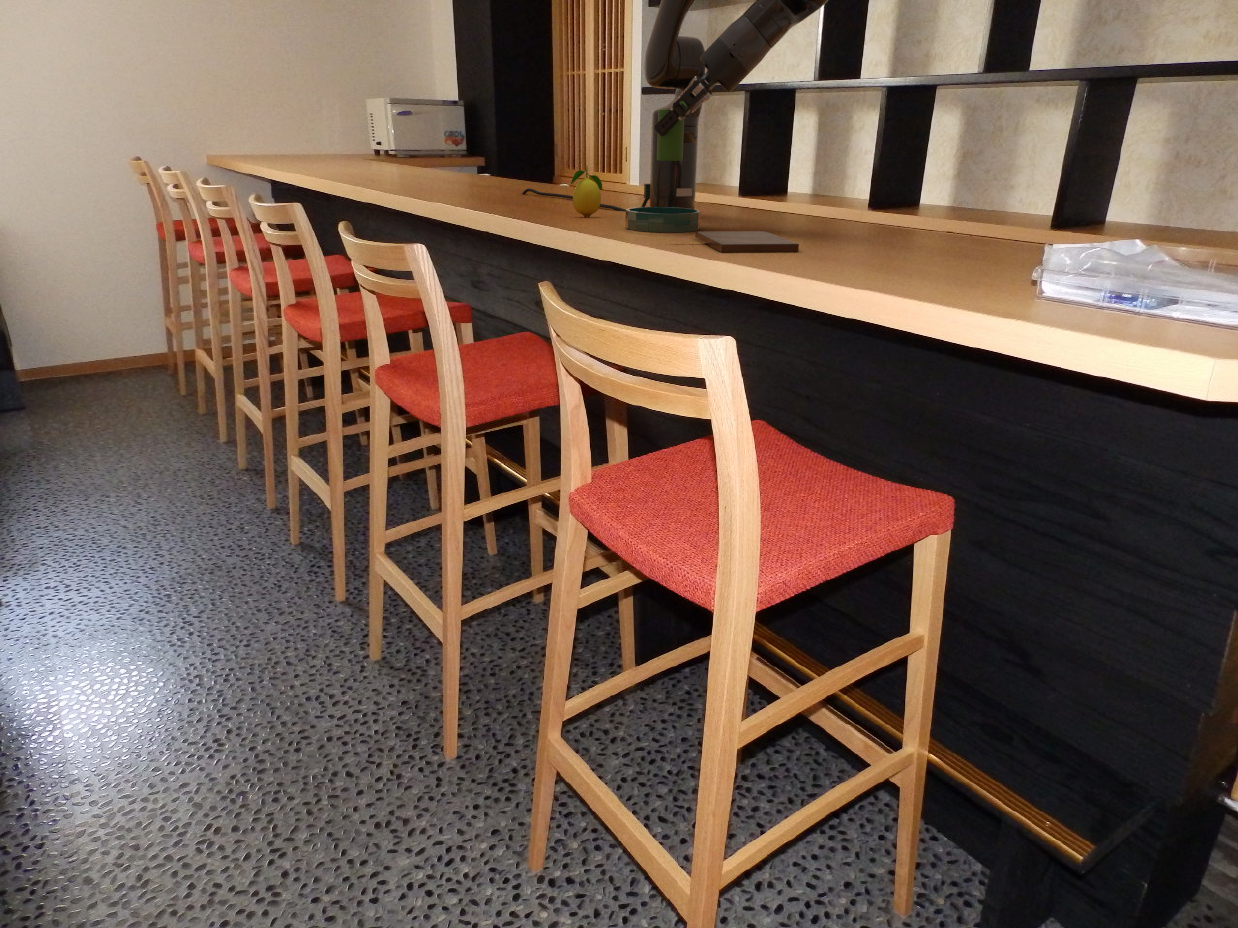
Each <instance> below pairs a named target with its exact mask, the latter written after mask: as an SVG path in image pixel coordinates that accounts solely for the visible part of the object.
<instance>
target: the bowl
mask: <svg viewBox="0 0 1238 928" xmlns="http://www.w3.org/2000/svg"><path fill="white" fill-rule="evenodd" d="M701 212H702V211H701V210H699V209H697V208H695V209H690V208H678V207H650V206H645V207H641V206H638V207H629V208H626V211H625V223H624V224H625V229H627V230H630V231H636V232H642V233H643V232H644V233H661V234H662V233H664V234H665V233H670V234H671V233H676V234H677V233H690V232H698V231H699V230H700V229H701Z"/></svg>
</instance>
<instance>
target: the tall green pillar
mask: <svg viewBox="0 0 1238 928" xmlns="http://www.w3.org/2000/svg"><path fill="white" fill-rule="evenodd" d="M669 111H670V110H658V122H659V121H660V120H661V119H662V118H663V117H664V116H665V115H666V114H667V113H668V112H669ZM670 112H671V111H670ZM677 120H678V119H677ZM683 136H684V118H683V119H682V120H680V121H679V120H678V122H677V123H676V124H675V125H674V126H673V127H672V128H671V129H670V130H669V132H668V133H667V134H666V135H665V136H660V134H659V133H658V139H657V160H660V161H682V160H683Z"/></svg>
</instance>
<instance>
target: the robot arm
mask: <svg viewBox="0 0 1238 928" xmlns="http://www.w3.org/2000/svg"><path fill="white" fill-rule="evenodd" d="M696 1H697V0H660V4H659V8H658V11H657V14H656V17H655V20H654V24H653V27H652V29H651V33H650V36H649V40H648V43H647V45H646V46H647V47H646V51H645V58H644V65H643V69H644V71H643V72H644V77H645V80H646V82H647V84H648V85H649V86H651V87H653V88H655V89H656V88H657V89H669V90H670V89H671V90H675V94H674V97H673V99H672V100H671V101H670V102H669V103H668V104H666V105H664V106H662V107H659V108H657V109H655V110H654V111H653V112H652V115H651V140H650V141H651V143H650V146H651V147H650V182H649V183H644V184H643V185H644V187H643V202H642V204H641V206H640V207H647V204H648V202H649V207H678V208H690V209H696V207H695V206H696V189H697V188H696V186H697V168H698V167H697V165H698V164H697V163H698V145H699V144H698V143H699V142H698V141H699V121H700V117H701V113H702V108H703V104H704V103H706V102H708V101H709V100H710V98H712V96H713V95H714V94H713V92H712V90H713V89H714V88H715V86H716V85H720V86H721V87H722V89H724V90H725V92H727V93H732V91H734V90H735V88H737V87H738V86H739V84H740V83H741V82H742V81H744V80H745V78H747V76H748V75H749V74H750V73H751V72H752V71H753V70H754V69H755V68H756V67H757V66H758V65H759V64H760V63H761V62H762V61H763V60H764V58H765V57H766V56H767V54H768V53H769V52H770V51H771V50H772V49H774V47H775V46H776V45H777V44H778V43H779V42H780V41H781V40H782V39H783V38H784V36H786V35H787V34H788V32H789V31H790V30H791V29H792V28H793V27H795V26H797V25H798V24H800V23H801V22H803V21H805V20H806V19H807V18H808V17H810V16H811V15H812V14H815V13H816V12H817V11H818V10H820V9H821V8H822V7H823V6H825V4H827V2H828V1H829V0H755V1H753V2H752V3H751V4H750V5H749V7H748V8H747V9H746V10H745V11H744V12H743V13H742V14H741V15H740V16H739V17H738V18H736V20H734V21H733V22H732V23H731V24H730V25H729V26H727V28H725V30H724V31H723V32H722V33H721V34H719V36H718V37H717V38H716V39H715V40H714V41H713V42H712V43H711V44H710V45H709V46H708V47H707V49H705V45H704V44H703V42H702V40H701V39H700V38H698V37H695V36H686V35H685V36H683V35H680V31H681V29H682V26H683V23H684V22H685V19H686V17H687V15H688V13H689V11H690V10H691V8H692V7H693V5H694V4H695V3H696ZM658 110H670V111H671V112H670V111H669V112H668V113H667V114H666V115H665V116H664V117H663V118H662V119H661V120H660V121H659V122H658ZM683 118H684V136H683V160H682V161H660V160H657V139H658V133H659V134H660V136H665V135H666V134H667V133H668V132H669V130H670V129H671V128H672V127H673V126H674V125H675V124H676V123H677V122H678V120H679V121H680V120H682V119H683ZM677 119H678V120H677ZM529 192H531V193H533V194H536V195H538V196H545V197H553V198H555V197H556V198H562V199H570V200H573V195H569V194H564V193H563V194H562V193H553V192H552V193H551V192H542V191H538V190H536V189H533V188H526V189H524V190H523V191H522V193H521V195H522V196H523V195H526V194H527V193H529ZM599 208H604V209H608V210H609V209H610V210H615V211H617V212H626V209H627V208H626V209H625V208H623V207H619V206H617V205H612V204H606V203H600V207H599Z"/></svg>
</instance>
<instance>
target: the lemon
mask: <svg viewBox="0 0 1238 928" xmlns="http://www.w3.org/2000/svg"><path fill="white" fill-rule="evenodd" d="M588 169H589V167H588V165H586V169H585V170H582V169H579V170H576V171H575V172H574V174H573V176H572V178H571V181H570V184H571V185H572V184H574V183H575V182H576V181H577V180H578V179H579V178H581V177H582V176H583V175H584V174H585V177H584V179H581V180H580V181H578V183H577V184H576V186H575V187H574V190H573V194H572V196H573V199H572V205H573V208H574V210H575V212H577V213H578V214H580V215H582V216H583V217H584V218H590V217H591V216H592V215H594V214H595V213H597V212H598V211H599V209H600V208H601V207H600V204H602V203H601V201H602V195H601V194H602V193H601V191H603V183H602V180H601V179H600V178H599V176H597V175H594V174H589V173H588Z"/></svg>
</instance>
